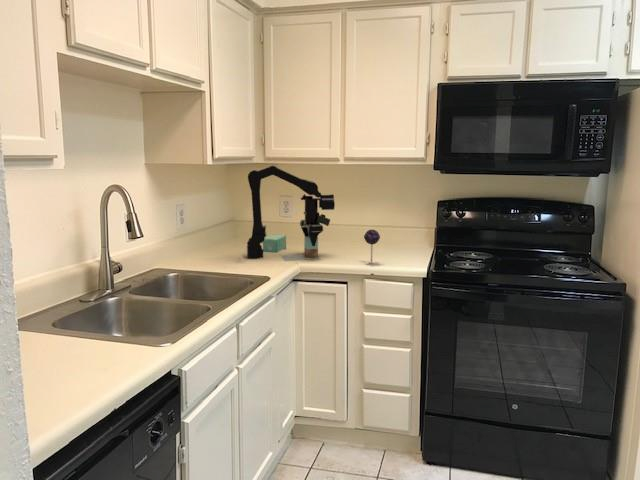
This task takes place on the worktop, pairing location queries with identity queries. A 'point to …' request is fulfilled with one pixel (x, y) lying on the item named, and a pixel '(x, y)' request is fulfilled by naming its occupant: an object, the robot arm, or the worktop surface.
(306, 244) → the teal block
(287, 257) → the board
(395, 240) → the worktop surface
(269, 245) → the box
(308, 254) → the walnut base
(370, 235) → the lollipop
